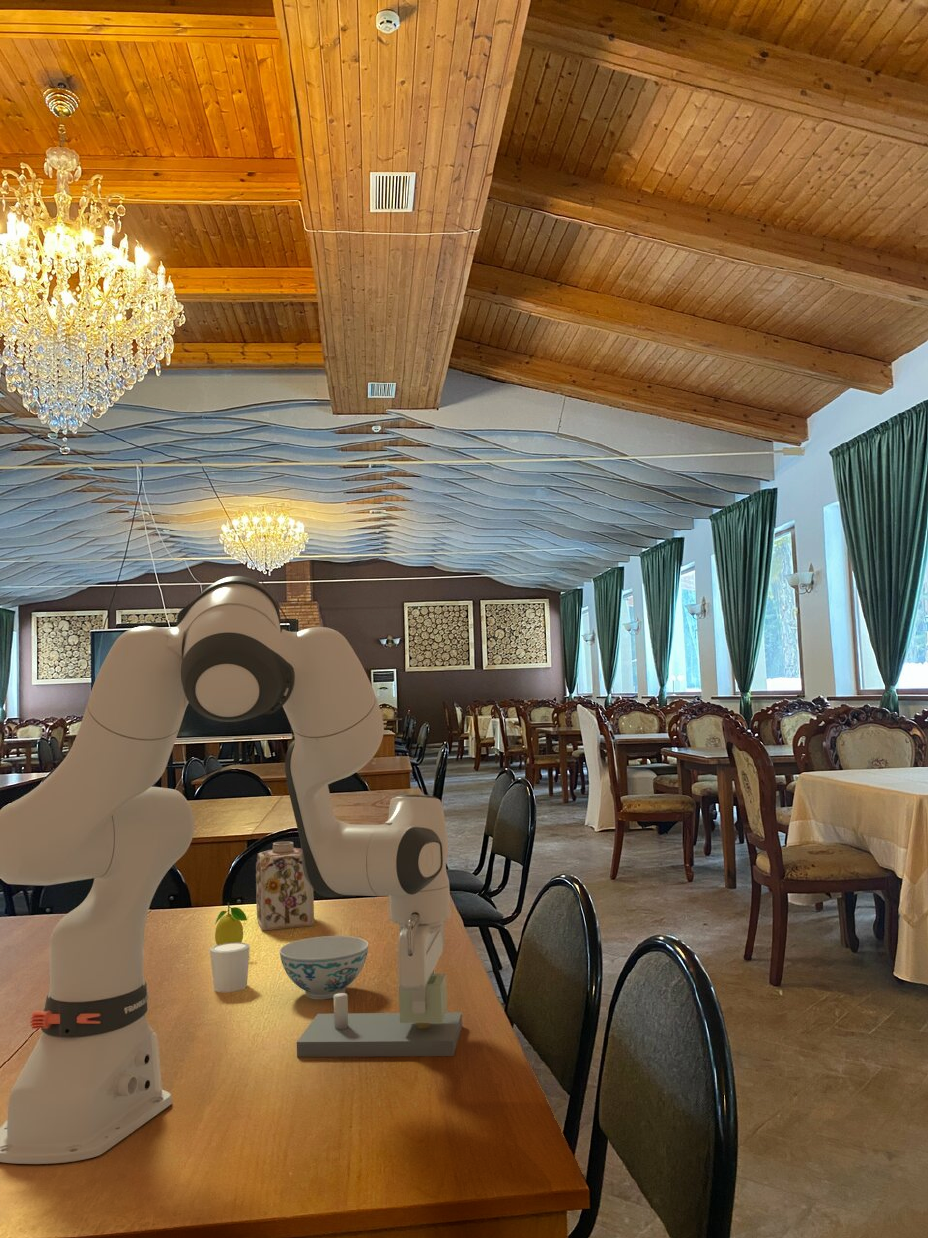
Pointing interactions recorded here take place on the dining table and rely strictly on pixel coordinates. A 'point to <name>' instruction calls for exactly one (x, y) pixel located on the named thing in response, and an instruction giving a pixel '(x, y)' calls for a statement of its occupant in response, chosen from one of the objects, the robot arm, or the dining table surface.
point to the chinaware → (324, 963)
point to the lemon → (230, 926)
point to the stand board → (376, 1034)
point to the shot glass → (230, 966)
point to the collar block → (434, 1002)
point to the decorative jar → (283, 889)
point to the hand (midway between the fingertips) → (423, 1004)
